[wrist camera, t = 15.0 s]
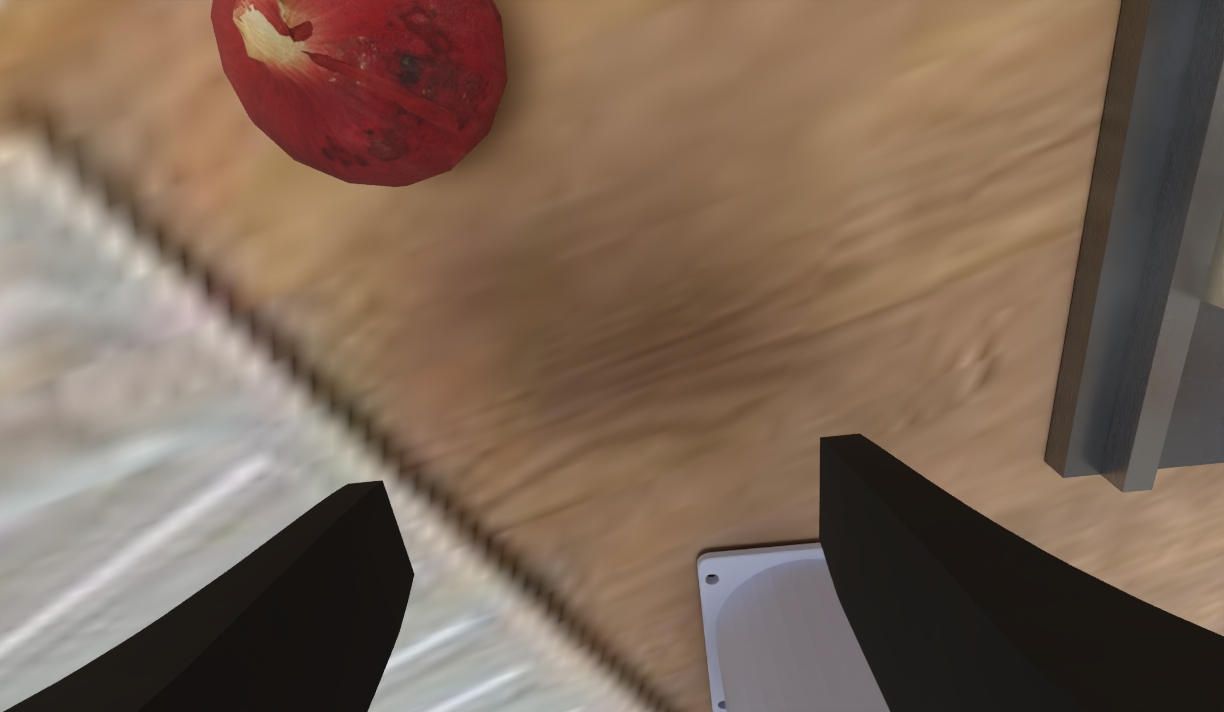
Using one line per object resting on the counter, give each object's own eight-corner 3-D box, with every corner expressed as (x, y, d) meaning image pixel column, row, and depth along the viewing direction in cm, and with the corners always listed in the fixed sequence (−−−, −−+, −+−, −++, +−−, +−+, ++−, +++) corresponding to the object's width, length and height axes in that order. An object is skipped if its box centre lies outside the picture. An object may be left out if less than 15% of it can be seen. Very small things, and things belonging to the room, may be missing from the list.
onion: (558, -8, 16) (500, -84, 9) (490, 197, 18) (400, 270, 11) (341, -110, 15) (85, -285, 8) (298, 116, 18) (65, 139, 10)
